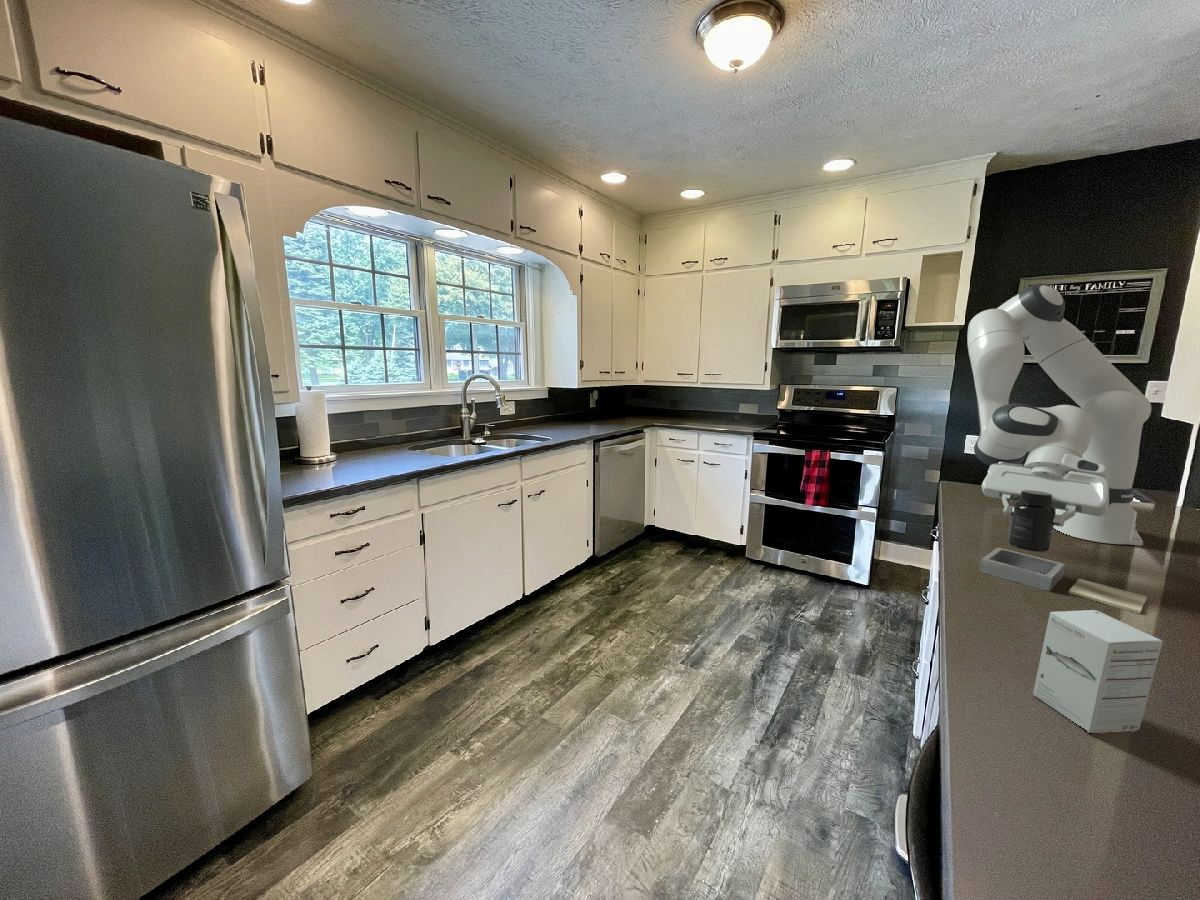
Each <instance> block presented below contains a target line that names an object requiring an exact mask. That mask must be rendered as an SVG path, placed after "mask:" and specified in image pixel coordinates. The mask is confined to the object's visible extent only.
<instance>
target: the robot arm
mask: <svg viewBox="0 0 1200 900" xmlns="http://www.w3.org/2000/svg"><path fill="white" fill-rule="evenodd" d="M1065 310H1066V301H1065V299H1064V296H1063V295H1062V294H1061V293H1060V292H1059V291H1058V290H1057V289H1056V288H1055V287H1053V286H1051V285H1049V284H1045V283H1033V284H1032V285H1029V286H1028V287H1026V288H1023V289H1022V290H1020V291H1019V293H1018V294H1016V295H1014V296H1012V297H1011V298H1010V299H1008V300H1006V301H1005V302H1003V303H1002V304H1001V305H1000V306H998V307H997V308H990V309H986V310H985V309H984V310H983V311H980V312H979V313H976V315H974V316H973V317H972V319H971V320H970V321H969V323H968V327H967V335H966V336H967V339H966V340H967V350H968V357H969V360H970V367H971V370H972V375H973V381H974V388H975V393H976V404H977V407H976V408H977V418H978V425H979V427H978V428H979V433H978V435H979V436H977V437H978V438H977V440H976V441H975V443H974V446H973V451H974V452H973V453H974V454H975V456H976V458H977V459H979V461H980V462H982V463H983V464H985V465H987V466H989V468H988V470H987V474H986V476H985V478H984V479H983V481H982V483H981V491H982V493H983V495H985V496H986V497H989V498H995V499H1000V500H1001V501H1002V502H1001V503H1002V504H1003V506H1004V508H1003V509H1002V515H1003V516H1008V517H1011V516H1012V510H1013V506H1014V505H1010V504H1011V503H1012V502H1015V503H1018V502H1021V499H1020V496H1021V492H1022V491H1023V490H1032V491H1040V492H1046V493H1049V494H1052V499H1051V501H1052V502H1051V503H1050V504H1049V506H1051V507H1052V508H1053V509H1054V510H1055V512H1056V514H1055V516H1054V519H1053V525H1054V529H1053V530H1055V529H1056V530H1055V531H1057V530H1058V531H1060V532H1059V533H1061V532H1062V533H1061V534H1063V533H1064V535H1066V534H1067V536H1069V535H1070V537H1073V538H1077V539H1082V540H1086V541H1090V542H1096V543H1102V544H1111V545H1112V544H1113V545H1131V546H1138V547H1139V546H1140V547H1141V546H1144V541H1143V539H1142V537H1141V536H1140V534H1139V533H1138V531H1137V528H1138V527H1137V526H1138V525H1137V524H1136V522H1137V521H1136V520H1137V516H1138V512H1137V511H1136V510H1135V509H1134V508H1133V507H1132V505H1131V502H1132V501H1133V497H1134V495H1135V493H1134V490H1135V489H1134V488H1133V484H1134V479H1135V475H1136V471H1137V466H1138V460H1139V454H1140V452H1139V451H1140V445H1141V439H1142V438H1141V437H1142V432H1143V431H1142V430H1143V425H1144V423H1145V422H1146V421H1147V420H1148V419H1149V418H1150V416H1151V414H1152V413H1151V412H1152V404H1151V402H1150V400H1149V399H1148V398H1147V397H1146V395H1144V394H1143V393H1142V392H1141V390H1140V389H1138V388H1137V386H1135V385H1134V384H1133V382H1131V381H1130V379H1128V378H1127V377H1126V376H1125V375H1124V374H1123V373H1122V372H1121V371H1120V370H1119V369H1118V368H1117V367H1115V365H1113V364H1112V363H1111V361H1110V360H1109V359H1107V358H1106V356H1105V355H1103V353H1102V352H1101V351H1100V350H1099V349H1098V348H1097V347H1096V346H1095V345H1094V344H1093V342H1091V340H1089V338H1088V337H1087V336H1086V335H1085V334H1084V333H1083V332H1082V331H1081V330H1080V329H1078V328H1077V327H1076V326H1075V325H1074V324H1072V323H1071V322H1069V321H1068V320H1067V319H1065V317H1064V315H1065V313H1064V312H1065ZM1025 346H1026V348H1027V350H1028V351H1029V353H1030V354H1031V356H1032V357H1033V358H1034V360H1035V361H1036V362H1037V364H1038V365H1039V366H1040V367H1041V368H1042V370H1043V371H1044V372H1045V373H1046V375H1048V376H1049V378H1050V379H1051V380H1052V382H1053V383H1055V384H1056V386H1057V387H1058V388H1059V389H1060V390H1061V391H1062V392H1064V393H1065V394H1066V395H1067V396H1068V397H1070V399H1072V400H1073V401H1074V403H1076V404H1077V405H1078V406H1075V405H1071V404H1057V405H1055V406H1054V405H1053V406H1050V407H1035V406H1032V405H1028V404H1024V403H1009V400H1010V395H1011V392H1012V389H1013V387H1014V384H1015V382H1016V380H1017V378H1018V376H1019V374H1020V372H1021V370H1022V367H1023V365H1024V362H1025ZM1028 452H1029V453H1028ZM1027 453H1028V455H1027ZM1025 458H1026V460H1025ZM1024 460H1025V462H1024ZM1023 462H1024V463H1023ZM1022 463H1023V464H1022ZM1058 531H1057V532H1058Z"/></svg>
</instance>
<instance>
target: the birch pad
mask: <svg viewBox="0 0 1200 900" xmlns="http://www.w3.org/2000/svg"><path fill="white" fill-rule="evenodd" d="M1068 593H1070V594H1069V595H1071V594H1074V595H1078V596H1081V597H1085V598H1087V599H1086V600H1089V599H1091V600H1090V601H1092V600H1094V601H1093V602H1096V601H1098V602H1097V603H1099V602H1101V604H1103V603H1104V605H1106V604H1107V606H1110V607H1114V608H1117V609H1121V610H1123V611H1128V612H1131V613H1134V614H1138V615H1140V614H1141V612H1142V610H1143V608H1144V606H1145V604H1146V601H1147V600H1148V596H1147V595H1143V594H1139V593H1134V592H1132V591H1127V590H1124V589H1120V588H1116V587H1112V586H1109V585H1105V584H1101V583H1097V582H1093V581H1089V580H1085V579H1082V578H1078V579H1077V580H1076V581H1075V583H1074V584H1073V585H1072V586H1071V587H1070V588H1069V590H1068ZM1068 593H1067V594H1068ZM1074 595H1073V596H1074ZM1078 596H1077V597H1078ZM1081 597H1080V598H1081ZM1085 598H1084V599H1085Z"/></svg>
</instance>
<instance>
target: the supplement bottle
mask: <svg viewBox="0 0 1200 900" xmlns="http://www.w3.org/2000/svg"><path fill="white" fill-rule="evenodd" d="M1020 499H1021V502H1015V503H1014V504H1013V505H1012V506H1013V510H1012V516H1010V523H1009V530H1008V536H1007V542H1008V544H1009V545H1010V546H1012V547H1015V548H1018V549H1020V550H1023V551H1025V550H1026V551H1029V552H1037V553H1046V552H1049V551H1050V549H1051V545H1052V539H1053V533H1054V532H1053V531H1054V529H1053V528H1054V525H1053V519H1054V516H1055V514H1056V512H1055V511H1056V509H1055V508H1052V507H1051V506H1049V504H1050V503H1051V502H1052V501H1051V499H1052V494H1049V493H1046V492H1040V491H1032V490H1023V491H1022V492H1021V496H1020Z"/></svg>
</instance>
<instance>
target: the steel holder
mask: <svg viewBox="0 0 1200 900" xmlns="http://www.w3.org/2000/svg"><path fill="white" fill-rule="evenodd" d="M1065 567H1066V564H1065V563H1064V562H1063V563H1062V562H1059V561H1056V560H1050V559H1046V558H1043V557H1039V556H1034V555H1031V554H1026V553H1023V552H1018V551H1014V550H1011V549H1008V548H1007V549H1006V548H1002V547H999V546H998V547H996V548H995V549H993V550H992V551H990V552H989V553H987V554H986V555H984V556H983V557H981V560H980V565H979V572H980V573H983V574H986V575H991V576H994V577H998V578H1000V579H1005V580H1007V581H1012V582H1015V583H1018V584H1021V585H1025V586H1029V587H1031V588H1035V589H1039V590H1043V591H1045V590H1047V591H1046V592H1050V591H1052V589H1053V588H1054V587H1055V586H1056V585H1057V584H1058V583H1059V582H1060V581H1061V580H1060V579H1063V577H1064V573H1065ZM1040 572H1041V573H1040ZM1043 573H1045V574H1043ZM1059 580H1060V581H1059ZM1058 581H1059V582H1058ZM1057 582H1058V583H1057ZM1056 583H1057V584H1056Z"/></svg>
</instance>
